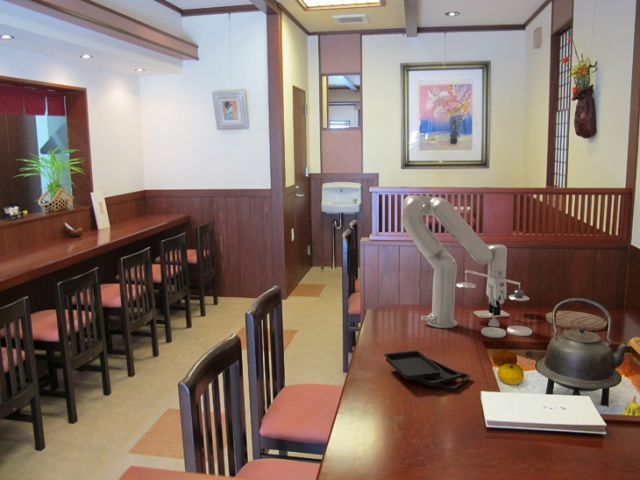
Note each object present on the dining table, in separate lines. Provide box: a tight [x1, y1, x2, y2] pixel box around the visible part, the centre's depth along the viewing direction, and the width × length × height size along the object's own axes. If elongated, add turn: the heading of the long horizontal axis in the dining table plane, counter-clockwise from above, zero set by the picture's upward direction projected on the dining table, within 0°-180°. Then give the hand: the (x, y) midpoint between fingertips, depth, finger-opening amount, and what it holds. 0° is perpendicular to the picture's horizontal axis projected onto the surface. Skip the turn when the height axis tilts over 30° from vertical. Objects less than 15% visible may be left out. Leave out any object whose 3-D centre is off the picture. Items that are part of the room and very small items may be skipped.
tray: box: [383, 349, 472, 392], centre depth 191 cm, size 30×23×5 cm
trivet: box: [545, 310, 608, 330], centre depth 252 cm, size 25×25×2 cm
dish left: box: [480, 326, 507, 339], centre depth 236 cm, size 10×10×1 cm
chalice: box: [487, 285, 501, 328], centre depth 247 cm, size 7×7×18 cm
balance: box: [455, 269, 530, 319], centre depth 261 cm, size 36×9×22 cm, turn 101°
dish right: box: [506, 325, 533, 337], centre depth 239 cm, size 10×10×1 cm
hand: (494, 313), depth 247 cm, fingers closed on chalice, 3 cm apart
